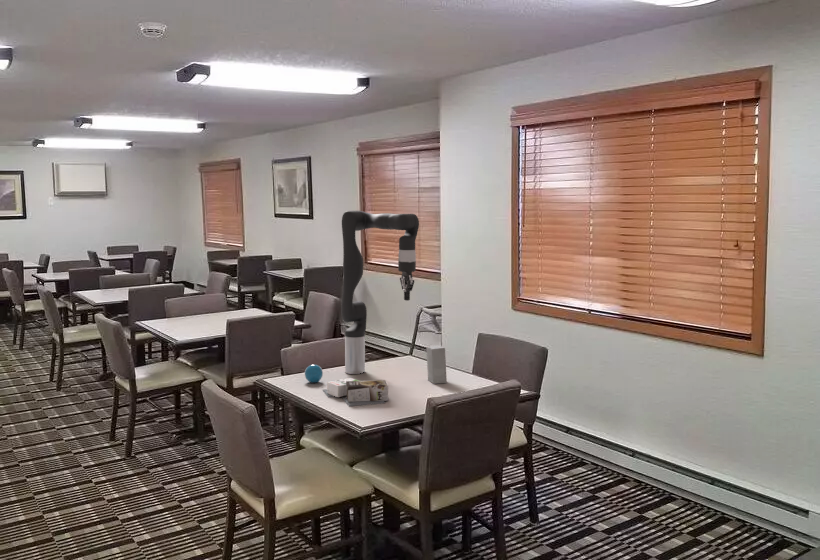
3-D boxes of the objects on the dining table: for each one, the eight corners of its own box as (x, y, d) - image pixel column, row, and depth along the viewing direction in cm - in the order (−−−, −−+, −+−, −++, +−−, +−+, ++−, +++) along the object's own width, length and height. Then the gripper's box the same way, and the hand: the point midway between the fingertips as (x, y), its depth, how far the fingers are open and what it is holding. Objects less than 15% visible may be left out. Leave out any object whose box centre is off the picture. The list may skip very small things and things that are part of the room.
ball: (310, 379, 308) (310, 361, 307) (326, 381, 305) (326, 363, 304) (301, 383, 301) (300, 365, 300) (316, 385, 297) (316, 367, 297)
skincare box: (447, 383, 302) (447, 348, 301) (431, 384, 300) (431, 348, 299) (440, 378, 310) (441, 344, 309) (425, 379, 308) (425, 345, 307)
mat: (322, 390, 289) (322, 389, 289) (367, 386, 296) (367, 385, 296) (336, 407, 265) (336, 406, 265) (385, 403, 271) (385, 402, 271)
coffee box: (388, 385, 272) (347, 386, 270) (388, 401, 273) (347, 402, 270) (385, 379, 281) (345, 380, 278) (385, 394, 282) (345, 396, 279)
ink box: (361, 381, 284) (338, 385, 276) (362, 392, 284) (338, 397, 277) (349, 377, 290) (326, 381, 283) (349, 388, 291) (326, 393, 283)
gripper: (394, 259, 300) (393, 298, 302) (403, 261, 288) (403, 302, 289) (410, 259, 302) (410, 298, 304) (420, 261, 290) (420, 302, 292)
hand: (406, 300), depth 297 cm, fingers closed
